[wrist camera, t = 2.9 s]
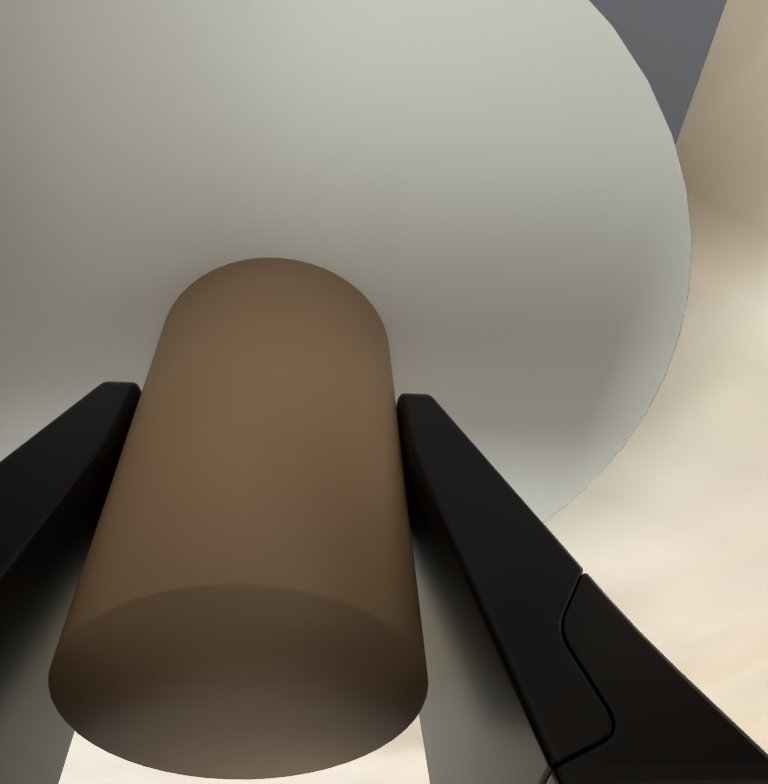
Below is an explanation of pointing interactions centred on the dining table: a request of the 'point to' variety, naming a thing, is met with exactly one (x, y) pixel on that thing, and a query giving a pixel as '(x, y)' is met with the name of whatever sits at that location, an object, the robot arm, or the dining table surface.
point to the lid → (314, 328)
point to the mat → (666, 45)
